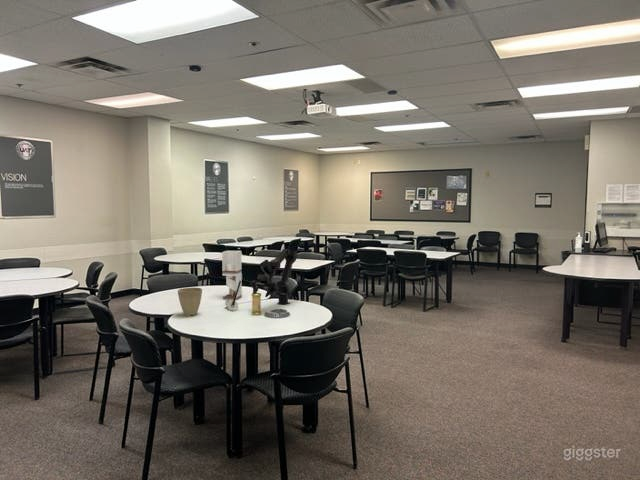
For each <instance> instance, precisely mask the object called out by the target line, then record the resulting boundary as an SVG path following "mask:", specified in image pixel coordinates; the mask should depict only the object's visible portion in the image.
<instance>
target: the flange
mask: <svg viewBox="0 0 640 480" xmlns="http://www.w3.org/2000/svg"><path fill="white" fill-rule="evenodd" d="M263 315H264V317H265V318H269V319H283V318H287V317H289V316H290V315H291V312H290V311H288V310H287V309H284V308H272V309H267V311H266V312H264V314H263Z"/></svg>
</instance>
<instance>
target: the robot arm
mask: <svg viewBox="0 0 640 480" xmlns="http://www.w3.org/2000/svg"><path fill="white" fill-rule="evenodd" d="M297 258H298V252H297V251H293V250H291V249H289V248H283V249H282V250H281V252H279V253H278V255H277V256H276V257H275V258H273V259H271V260H270V261H269V259H264V260H263V261H261V262H260V264H259V266H260V268H261V270H262V271H263V273H264V274H261V273H258V274H257V280H259V282H258V281H257V280H251V281H250V282H249V285H250V286H251V288H252V293H258V292H259V289H260V288H267V292H266V293H265V298H267V297H269V296H270V295H272V294H273V293H276V296H278V302H276V304H277V305H283V306H284V305H288V304H290V302H289V296H291V292H292V291H291V290H290V289H289V287H290V286H289V283H288V281H289V278H290V275H291V271H292V268H293V264H294V263H295V262H296V260H297ZM283 261H285V265H284V267H283V271H282V274H281V278H280V280H279V281H277V282H273V279H274V277H276V276H277V274H276V271H278V270H279V269H280V268H281V263H283Z"/></svg>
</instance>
